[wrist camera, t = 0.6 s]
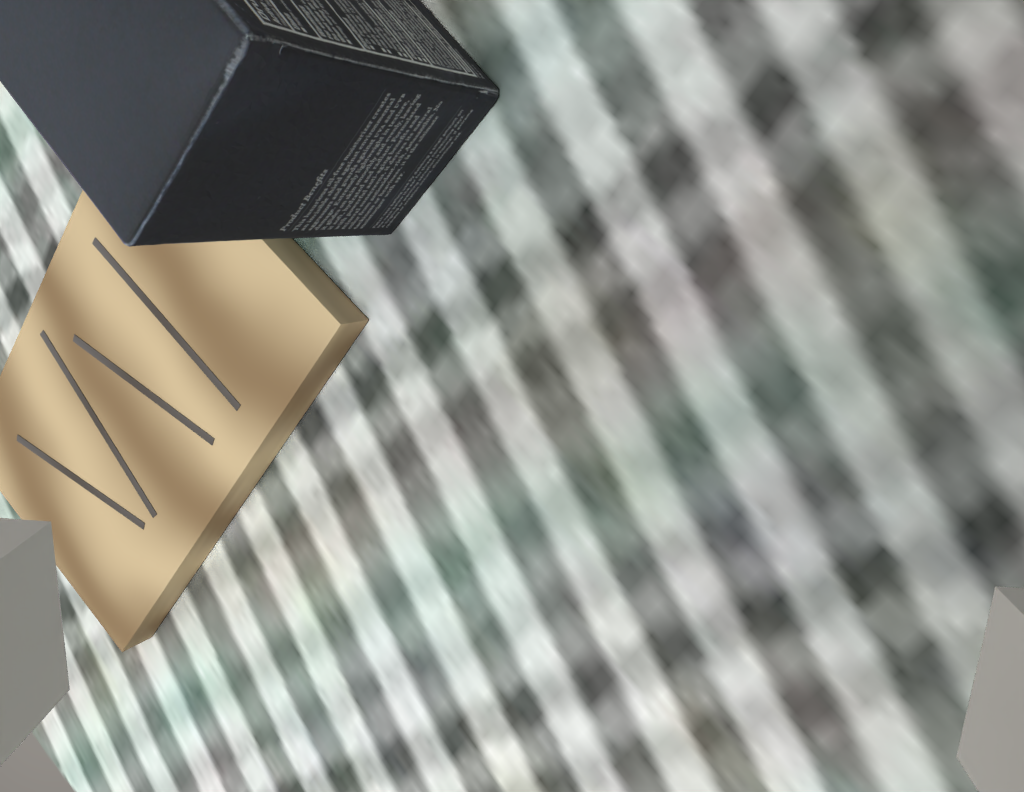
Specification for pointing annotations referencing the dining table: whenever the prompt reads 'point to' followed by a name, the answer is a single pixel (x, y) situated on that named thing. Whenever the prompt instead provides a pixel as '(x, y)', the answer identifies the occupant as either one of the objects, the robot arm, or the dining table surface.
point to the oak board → (158, 402)
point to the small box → (243, 110)
